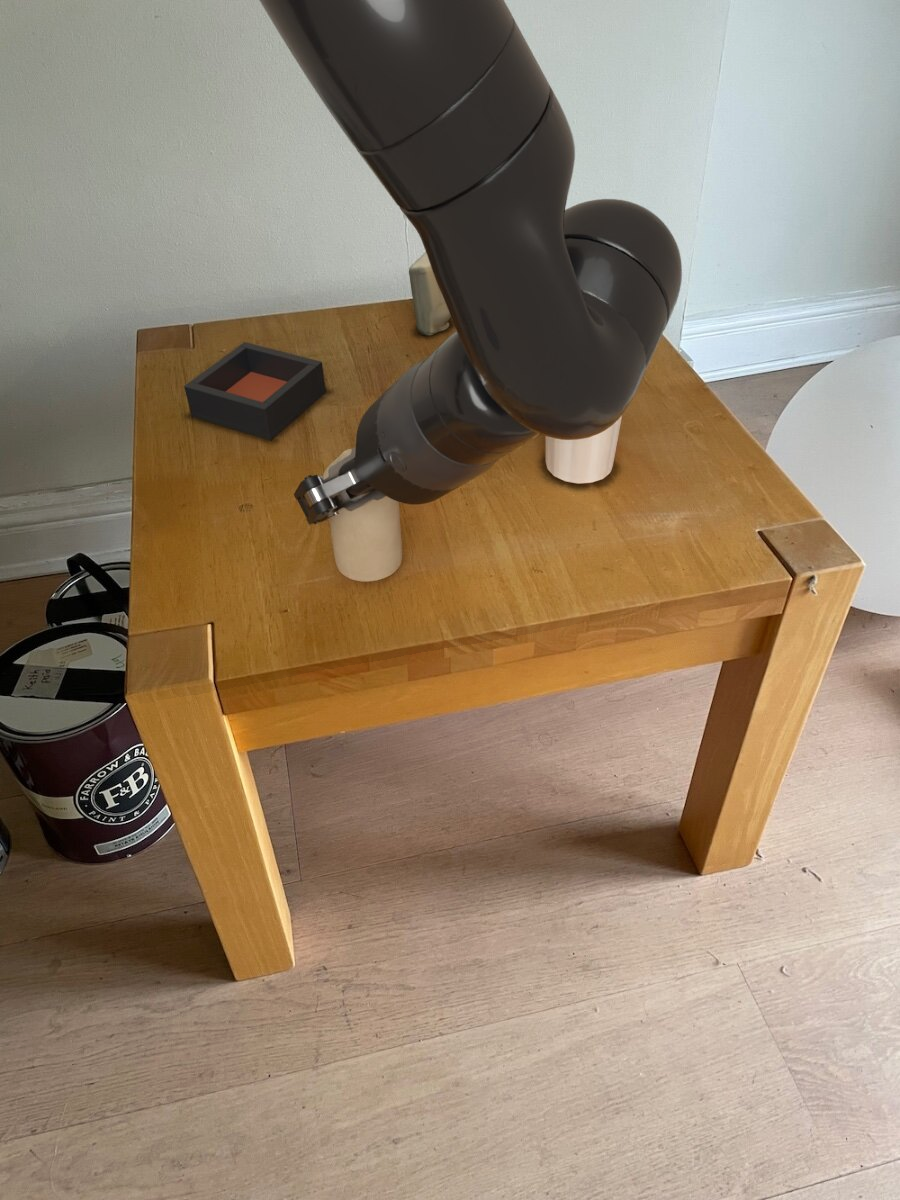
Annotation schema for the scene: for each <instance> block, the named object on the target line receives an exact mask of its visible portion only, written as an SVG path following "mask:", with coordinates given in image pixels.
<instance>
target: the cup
mask: <svg viewBox="0 0 900 1200" xmlns="http://www.w3.org/2000/svg"><path fill="white" fill-rule="evenodd" d="M622 419H623V415H622V416H621V417H620V418H619V419H618V420H617V421H616V422H615V423H614V424H613V425H612V426H611V427H609V428H608V429H606V430H605V431H603V432H601V433H599V434H597V435H594V436H591V437H589V438H585V439H579V440H561V439H555V438H551V437H548V436H545V465H546V469H547V470H548V471H549V473H551V474H552V476H553V477H555V478H557V479H559V480H562V481H563V482H568V483H571V484H572V483H573V484H592V483H595V482H598V481H601V480H604V479H605V478H606V477H607V476H609V474H611V472H612V470H613V467H614V461H615V457H616V452H617V447H618V440H619V436H620V430H621V424H622Z"/></svg>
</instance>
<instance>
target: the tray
mask: <svg viewBox="0 0 900 1200" xmlns="http://www.w3.org/2000/svg"><path fill="white" fill-rule="evenodd" d="M183 388H184V392H185V396H186V400H187V403H188V407H189V411H190V415H191V418H194V419H198V420H202V421H204V422H208V423H212V424H215V425H218V426H221V427H225V428H228V429H230V430H231V429H232V430H234V431H237V432H242V433H245V434H247V435H250V436H251V435H252V436H255V437H258V438H261V439H264V440H266V441H267V440H268V441H272V440H273V439H274V438H276V437H277V436H278V435H279V434H281V432H283V430H285V429H286V428H287V427H288V426H289V425H291V424H292V423H293V422H294V421H295V420H296V419H297V418H298V417H299V416H301V415H302V414H303V413H304V412H305V411H307V410H308V408H310V407H311V406H312V405H313V404H315V403H316V402H317V401H318V400H319V399H320V398H322V396H324V395H325V394H326V393H327V387H326V381H325V374H324V367H323V361H320V360H317V359H314V358H309V357H305V356H301V355H297V354H294V353H290V352H285V351H283V350H277V349H275V348H269V347H267V346H262V345H258V344H255V343H250V342H246V341H243V342H242V343H240V344H239V345H238V346H237V347H235V348H234V349H232V350H231V351H229V352H228V353H227V354H226V355H224V356H223V357H222V358H220V359H219V360H218V361H216V362H215V363H214V364H212V365H211V366H210V367H208V368H207V369H205V370H204V371H202V372H201V373H200V374H198V375H197V376H196V377H194V378H193V379H191V380H190V381H189V382H188V383H185V385H184V386H183Z"/></svg>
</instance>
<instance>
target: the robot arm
mask: <svg viewBox="0 0 900 1200" xmlns="http://www.w3.org/2000/svg"><path fill="white" fill-rule="evenodd" d="M258 1H259V3H260V4H261V6H262V7H263V9H264V11H265V12H266V14H267V16H268V18H269V20H270V21H271V22H272V24H273V26H274V28H275V29H276V31H277V32H278V34H279V36H280V38H281V39H282V40H283V42H284V44H285V46H286V47H287V49H288V50H289V52H290V54H291V55H292V56H293V58H294V60H295V61H296V63H297V64H298V67H300V69H301V71H302V72H303V74H304V75H305V77H306V78H307V80H308V82H309V83H310V84H311V86H312V87H313V89H314V91H315V93H316V94H317V95H318V97H319V98H320V100H321V101H322V103H323V105H324V106H325V108H326V109H327V110H328V112H329V114H330V115H331V117H333V118H334V120H335V122H336V123H337V125H338V126H339V128H340V129H341V130H342V132H343V133H344V135H345V136H346V137H347V139H348V140H349V142H350V143H351V145H352V146H353V147H354V148H355V150H356V151H357V152H358V154H359V155H360V156H361V158H362V160H363V161H364V162H365V163H366V165H367V166H368V167H369V169H370V170H371V172H372V173H373V174H374V176H375V177H376V178H377V179H378V182H380V184H381V185H382V187H383V188H384V189H385V191H386V192H387V193H388V195H389V196H390V197H391V199H392V200H393V201H394V203H395V204H396V205H397V206H398V207H399V209H400V211H401V212H402V214H403V215H404V217H406V219H407V220H408V221H409V222H410V224H411V225H412V226H413V227H414V229H415V230H416V233H418V237H419V238H420V240H421V242H422V245H423V248H424V250H425V252H426V253H427V256H428V259H429V262H430V265H431V268H432V271H433V273H434V276H435V279H436V281H437V284H438V286H439V289H440V291H441V293H442V295H443V298H444V300H445V303H446V305H447V308H448V310H449V313H450V315H451V320H452V322H453V325H454V327H455V330H456V331H455V332H453V333H452V334H451V335H449V336H448V337H447V338H446V339H445V340H444V341H442V343H441V344H439V346H437V348H436V349H435V350H433V351H432V352H431V353H430V354H429V355H428V356H427V357H425V358H424V359H422V360H420V361H418V362H417V363H415V364H414V365H412V366H411V367H410V368H408V370H406V371H405V372H404V373H403V374H402V375H401V376H400V377H399V378H398V379H397V380H396V381H394V382H393V383H392V385H391V386H390V387H388V388H387V389H386V391H384V392H383V393H382V394H381V395H380V396H379V397H378V398H376V400H375V401H374V402H373V403H372V404H371V405H370V406H369V407H368V408H367V409H366V411H365V412H364V414H362V417H361V419H360V421H359V424H358V426H357V431H356V435H355V436H356V437H355V446H354V447H353V448H351V449H352V451H351V454H350V455H349V456H347V457H346V458H344V459H342V460H341V461H339V462H338V463H336V464H335V465H333V466H331V467H330V468H329V471H328V473H329V476H328V477H327V478H326V479H323V475H322V474H319V475H318V474H314V475H312V474H309V475H307V476H305V477H304V479H303V480H302V481H300V483H299V484H298V486H297V487H296V490H295V491H294V493H293V497H294V498H295V500H296V501H297V503H299V506H300V508H301V510H302V512H303V514H304V516H305V518H306V522H307V524H308V525H309V526H310V525H313V524H314V525H318V524H320V523H323V522H326V521H327V520H329V518H331V517H332V516H333V517H334V516H336V515H338V514H340V513H339V512H340V511H342V510H343V509H345V508H346V509H347V510H348V511H353V510H355V509H358V508H360V507H363V506H365V505H366V504H368V503H370V502H372V501H373V500H380V499H382V498H385V497H389V498H391V499H393V500H395V501H398V502H399V503H401V504H406V505H414V506H415V505H416V506H417V505H425V504H431V503H433V502H435V501H437V500H439V499H442V497H444V496H446V495H448V494H449V493H452V492H453V491H455V490H457V489H459V488H460V487H462V486H464V485H466V484H467V483H469V482H470V481H473V480H474V479H476V478H478V477H480V476H481V475H482V474H484V473H486V472H487V471H489V470H490V469H491V468H492V467H493V466H494V465H495V464H496V463H497V462H498V461H499V460H500V459H502V458H504V457H505V456H507V455H509V454H511V453H513V452H514V451H516V450H518V449H519V448H521V447H523V446H525V445H526V444H527V443H530V442H531V441H532V440H534V439H535V438H536V437H537V436H539V435H541V436H545V437H546V436H548V437H551V438H555V439H561V440H579V439H585V438H589V437H591V436H594V435H597V434H599V433H601V432H603V431H605V430H606V429H608V428H609V427H611V426H612V425H613V424H614V423H615V422H616V421H617V420H618V419H619V418H620V417H621V416H622V417H623V414H624V413H625V412H626V411H627V409H628V407H630V405H631V403H632V402H633V399H634V397H635V396H636V393H637V391H638V389H639V387H640V384H641V382H642V381H643V378H644V376H645V373H646V371H647V369H648V367H649V364H650V362H651V360H652V358H653V356H654V353H655V351H656V350H657V347H658V344H659V342H660V340H661V338H662V335H663V334H664V331H665V330H666V328H667V326H668V323H669V321H670V319H671V317H672V315H673V313H674V311H675V307H676V306H677V302H678V299H679V296H680V292H681V287H682V278H683V263H682V257H681V252H680V249H679V246H678V243H677V241H676V239H675V236H674V235H673V234H672V232H671V230H670V229H669V227H668V226H667V225H666V223H665V222H664V221H663V220H662V219H661V218H659V216H658V215H657V214H655V213H654V212H652V211H651V210H650V209H648V208H646V207H644V206H642V205H640V204H637V203H634V202H632V201H628V200H623V199H617V198H598V199H592V200H587V201H583V202H580V203H577V204H575V205H572V206H570V207H568V208H566V206H567V200H568V197H569V192H570V189H571V184H572V179H573V175H574V170H575V169H574V168H575V163H576V162H575V160H576V145H575V138H574V135H573V131H572V128H571V125H570V123H569V120H568V117H567V116H566V114H565V111H564V110H563V107H562V105H561V103H560V101H559V100H558V98H557V96H556V94H555V93H554V91H553V89H552V87H551V86H550V83H549V82H548V81H549V80H548V79H547V77H546V75H545V74H544V72H543V70H542V68H541V66H540V64H539V62H538V60H537V59H536V57H535V55H534V53H533V51H532V50H531V48H530V46H529V44H528V42H527V40H526V38H525V36H524V35H523V33H522V31H521V29H520V27H519V25H518V23H517V22H516V19H515V18H514V16H513V14H512V12H511V9H509V7H508V4H507V3H506V1H505V0H258ZM369 492H370V493H369ZM365 493H368V494H366V495H365V496H362V495H361V494H365ZM338 494H339V495H340V497H341V502H340V501H339V499H338V497H337V495H338Z"/></svg>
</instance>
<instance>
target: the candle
mask: <svg viewBox="0 0 900 1200" xmlns="http://www.w3.org/2000/svg"><path fill="white" fill-rule="evenodd" d="M352 449H353V448H348V449H345V450H344V451H342V452H341V453H340V455H338V457H337V458H335V459H334V460H333V461H332V462H331V463H330V464H329V465H328V466H327V467H326V468H325V470H324V472H323V475H322V477H323V479H326V478H327V477H328V476H329V473H328V471H329V468H330V467H331V466H333V465H335V464H336V463H338V462H339V461H341V460H342V459H344V458H346V457H347V456H349V455H350V454H351V451H352ZM369 493H370V492H369ZM366 494H368V493H365V494H361V495H362V496H365V495H366ZM337 497H338V499H339V501H340V502H341V497H340V495H339V494H338V495H337ZM339 513H340V514H338V515H336V516H334V517H333V516H332V517H331V518H329V519H328V522H329V529H330V536H331V543H332V549H333V555H334V561H335V565H336V569H338V571H339V572H340V574H341V575H343V576H344V577H345V578H348V579H349V580H353V581H357V582H376V581H379V580H383V579H385V578H388V577H390V576H391V575H393V574H394V573H395V572H396V571H397V570H398V569H399V568H400V566H401V564H402V560H403V543H402V542H403V541H402V528H401V517H400V516H401V515H400V502H398V501H395V500H393V499H391V498H389V497H385V498H382V499H380V500H373V501H372V502H370V503H368V504H366V505H365V506H363V507H360V508H358V509H355V510H353V511H348V510H347V509H346V508H345V509H343V510H342V511H340V512H339Z"/></svg>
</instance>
